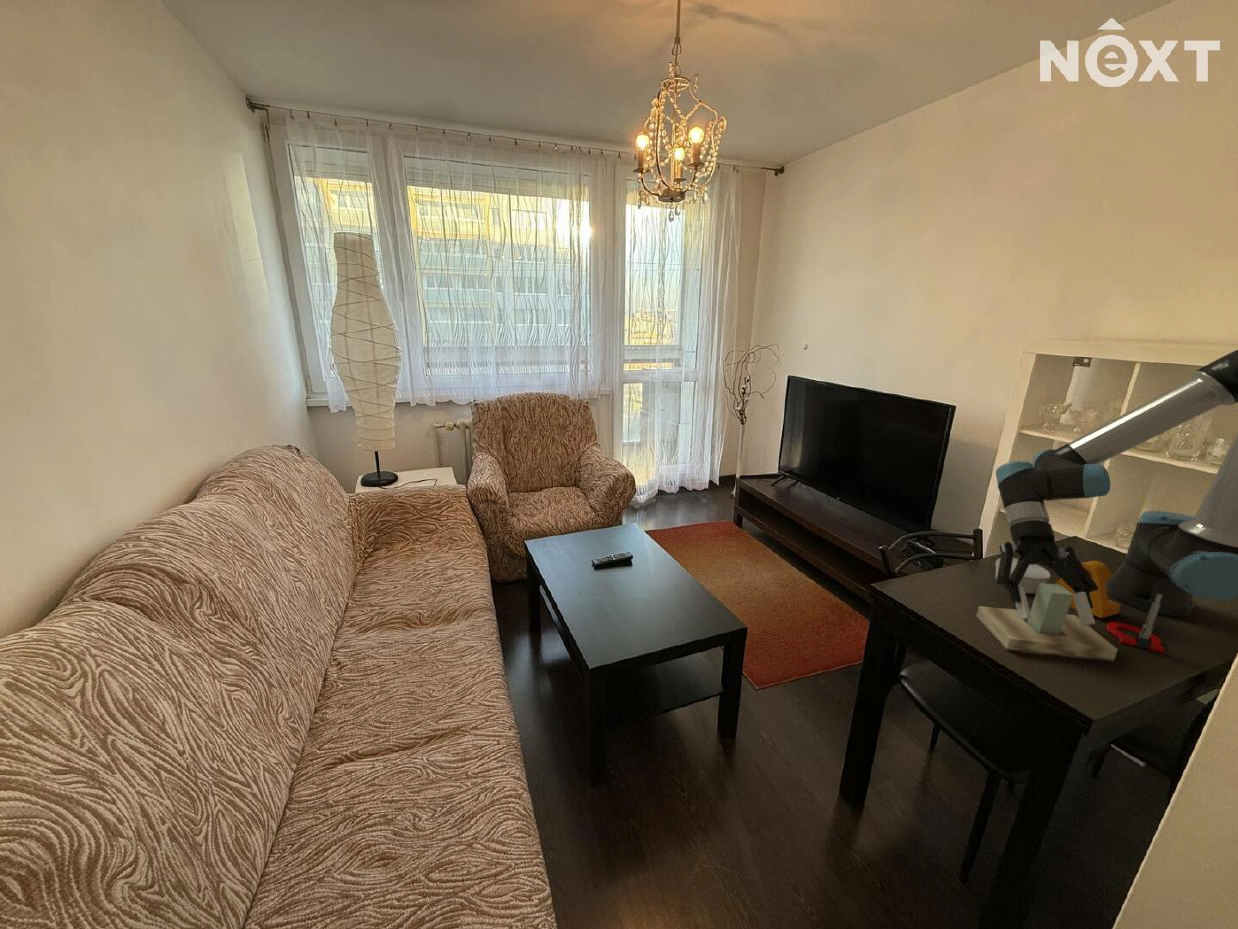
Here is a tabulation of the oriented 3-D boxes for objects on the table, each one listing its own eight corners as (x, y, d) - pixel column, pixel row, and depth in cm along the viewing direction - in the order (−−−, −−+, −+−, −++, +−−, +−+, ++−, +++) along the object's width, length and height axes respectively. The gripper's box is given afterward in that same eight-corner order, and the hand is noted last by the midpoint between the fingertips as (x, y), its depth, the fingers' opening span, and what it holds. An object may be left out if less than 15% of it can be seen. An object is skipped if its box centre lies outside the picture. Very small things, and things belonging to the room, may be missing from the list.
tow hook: (1100, 622, 113) (1115, 643, 105) (1117, 572, 110) (1134, 590, 102) (1149, 633, 109) (1169, 656, 101) (1168, 582, 106) (1190, 602, 98)
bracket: (1119, 615, 115) (1136, 571, 111) (1099, 621, 113) (1116, 576, 109) (1067, 592, 125) (1081, 550, 121) (1048, 596, 122) (1061, 554, 119)
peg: (1044, 631, 108) (1059, 584, 104) (1057, 642, 104) (1073, 594, 100) (1024, 629, 108) (1039, 582, 105) (1036, 640, 105) (1051, 592, 101)
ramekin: (1051, 588, 126) (1057, 570, 125) (1036, 601, 120) (1041, 583, 119) (1001, 570, 135) (1006, 553, 134) (984, 581, 129) (989, 564, 128)
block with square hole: (1071, 626, 111) (1075, 615, 110) (1113, 661, 99) (1118, 649, 98) (975, 617, 114) (978, 606, 113) (1006, 650, 102) (1009, 638, 101)
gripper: (1074, 534, 113) (1106, 630, 103) (965, 526, 117) (985, 618, 107) (1099, 522, 107) (1135, 624, 97) (982, 515, 110) (1005, 612, 100)
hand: (1056, 621), depth 102 cm, fingers open, 11 cm apart
